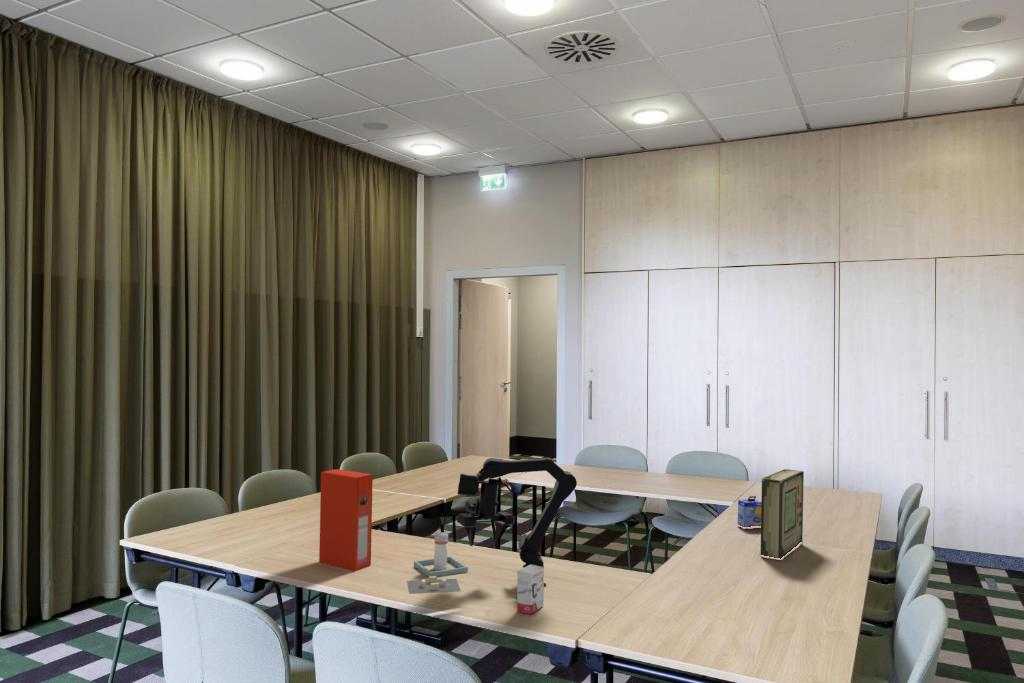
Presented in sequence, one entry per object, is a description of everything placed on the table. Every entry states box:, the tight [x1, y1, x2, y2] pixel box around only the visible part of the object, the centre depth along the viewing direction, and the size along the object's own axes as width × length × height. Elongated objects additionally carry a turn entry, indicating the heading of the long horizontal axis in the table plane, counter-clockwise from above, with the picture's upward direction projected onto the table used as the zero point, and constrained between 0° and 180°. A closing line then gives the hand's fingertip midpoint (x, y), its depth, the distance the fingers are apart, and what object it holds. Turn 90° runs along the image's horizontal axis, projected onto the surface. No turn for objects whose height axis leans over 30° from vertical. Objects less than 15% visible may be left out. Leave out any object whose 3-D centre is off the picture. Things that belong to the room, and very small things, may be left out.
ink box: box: [516, 565, 545, 615], centre depth 205 cm, size 9×5×12 cm, turn 150°
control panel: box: [760, 468, 805, 559], centre depth 274 cm, size 30×8×30 cm, turn 143°
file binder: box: [318, 468, 374, 572], centre depth 243 cm, size 8×17×32 cm, turn 59°
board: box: [406, 576, 462, 595], centre depth 220 cm, size 16×12×3 cm
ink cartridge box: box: [737, 495, 762, 527], centre depth 309 cm, size 10×6×14 cm, turn 107°
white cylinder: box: [433, 531, 449, 571], centre depth 238 cm, size 5×5×12 cm
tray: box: [413, 555, 469, 578], centre depth 237 cm, size 14×14×2 cm
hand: (483, 545), depth 226 cm, fingers open, 9 cm apart
